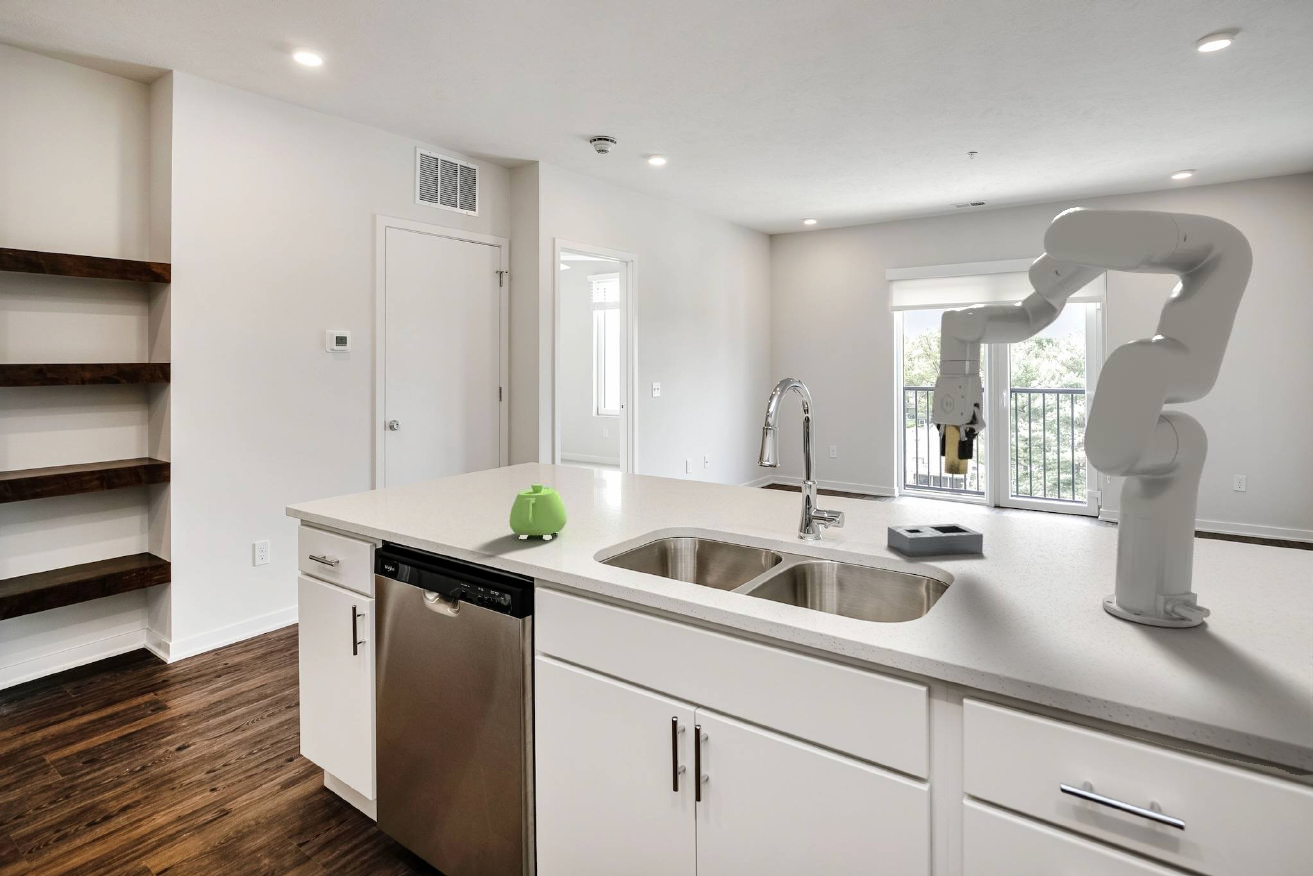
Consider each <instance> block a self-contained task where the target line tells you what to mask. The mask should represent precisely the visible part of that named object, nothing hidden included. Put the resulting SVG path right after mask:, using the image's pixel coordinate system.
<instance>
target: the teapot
mask: <svg viewBox="0 0 1313 876" xmlns="http://www.w3.org/2000/svg"><path fill="white" fill-rule="evenodd" d="M566 510H567V509H566V508H565V505H564V502H563V500H562V498H561V496H560V494H559V492H558V491H557V490H556V489H555V488H551V487H544V484H542V483H534V484H531V488H529V489H528V488H527V489H523V490H521V491H519V492H518V493H517V495H516V497H515V499H514V502H513V504H512V506H511V510H510V515H509V526H510V528H511V530H512V531H513V533H514V534H515V535H519V536H520V535H529V536H542V535H551V534H552V535H554V534H553V533H556V532H561V531H562V530H563V529H564V527H565V525H566V524H567V522H568V517H567V511H566Z"/></svg>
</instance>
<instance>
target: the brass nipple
mask: <svg viewBox="0 0 1313 876" xmlns="http://www.w3.org/2000/svg"><path fill="white" fill-rule="evenodd" d="M966 424H969V423H966ZM966 424H965V425H966ZM966 430H967V431H968V430H969V428H966ZM959 440H962V439H961V433H960V426H957V425H948V424H946V443H945V457H944V473H945V474H949V475H968V469H969V466H968V465H969V459H967V460H959V459H958V445H959Z"/></svg>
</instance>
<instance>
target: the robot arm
mask: <svg viewBox="0 0 1313 876" xmlns="http://www.w3.org/2000/svg"><path fill="white" fill-rule="evenodd" d="M1043 247H1044V250H1045V252H1044V253H1043V254H1042V255H1041V256H1040V257H1038V258H1037V259H1036V260H1034V261H1033V262H1032V263H1031V264H1030V266H1029V269H1028V279H1029V282H1030V284H1031V286H1032V288H1033V289H1034V291H1033V292H1032V293H1031V294H1029V295H1028V296H1027V297H1025V298H1024V299H1022V300H1021V301H1020V302H1017V303H1015V304H1009V303H1007V304H1004V303H1003V304H1001V303H998V304H996V303H993V304H991V303H990V304H988V303H985V304H983V303H982V304H974V305H971V306H968V307H960V308H959V307H957V308H949V309H945V311H943V312H942V314H941V321H940V322H941V323H940V350H939V351H940V353H939V359H940V361H939V366H938V368H939V375H937V377H936V379H935V380H936V381H935V383H934V387H933V388H934V389H933V394H932V395H933V396H932V405H931V406H932V407H931V423H932V424H933V425H934V426H935V428H936V430H937V432H938V436H939V438H940V457H944V458H945V443H946V424H948V425H957V426H960V433H961V439H962V440H959V445H958V459H959V460H967V459H968V460H972V459H973V457H974V441H976V439H977V436H978V435H979V433H980V432H982V431H983V430H984V429H985V428H986V427H987V424H986V422H985V420H984V418H983V416H984V395H983V384H982V377H981V376H980V372H981V347H982V345H984V344H985V345H988V344H990V345H991V344H1017V343H1021V342H1024V341H1026V340H1028V339H1030V338H1032V337H1034V336H1036V335H1037V334H1040V332H1042V331H1043V330H1044V329H1046V328H1048V327H1050V326H1051V325H1052V324H1054V322H1055V321H1056V320H1057V319H1058V318H1059V317H1060V315H1061V314H1062V312H1063V310H1064V309H1065V306H1066V305H1067V300H1068V298H1070V297H1071V296H1072V295H1074V294H1075V293H1076V292H1078V291H1080V290H1081V289H1082V288H1083V287H1086V286H1087V285H1089V284H1090V283H1091V282H1093V281H1094V280H1095V279H1097V278H1099V277H1100V276H1101V275H1103V274H1105V273H1106V272H1107V271H1115V272H1123V273H1134V274H1155V275H1156V274H1159V275H1176V276H1178V277H1179V278H1180V280H1179V282H1178V283H1177V284H1176V286H1175V287H1174V288H1173V290H1172V291H1171V292H1170V294H1169V296H1168V297H1167V298H1166V300H1165V301H1164V304H1163V307H1162V308H1161V310H1160V311H1161V312H1160V316H1159V320H1158V323H1157V327H1156V329H1155V332H1154V335H1153V338H1152V337H1151V338H1137V339H1134V340H1130V341H1128V342H1125V343H1123V344H1121V345H1120V346H1118V347H1117V348H1116V349H1114V350H1113V352H1112V353H1111V354H1110V355H1109V356H1108V357H1107V359H1106V360H1105V362H1104V364H1103V366H1102V368H1101V370H1100V373H1099V376H1098V380H1097V383H1096V387H1095V392H1094V395H1093V399H1092V403H1091V407H1090V410H1089V414H1088V419H1087V423H1086V426H1085V431H1084V437H1083V438H1084V439H1083V447H1084V453H1085V456H1086V459H1087V460H1088V462H1089V464H1090V465H1091V466H1092V467H1093V468H1094V469H1095V470H1097V472H1099V473H1101V474H1103V475H1107V476H1110V477H1116V478H1117V477H1118V478H1119V477H1123V478H1124V477H1125V478H1124V481H1123V484H1122V486H1121V491H1120V494H1119V501H1118V502H1119V503H1118V504H1119V505H1118V521H1117V538H1116V539H1117V541H1116V560H1115V562H1116V563H1115V584H1114V593H1112V594H1109V595H1106V596H1104V597H1103V598H1102V608H1103V609H1104V610H1106V611H1107V612H1108V613H1110V614H1111V615H1113V616H1116V617H1119V618H1121V619H1124V620H1127V621H1131V622H1133V623H1134V622H1135V623H1139V624H1144V625H1149V626H1156V627H1163V628H1191V627H1197V626H1199V625H1201V624H1202V623H1203V621H1204V618H1205V619H1207V618H1209V617H1210V616H1211V610H1210V609H1209V608H1207V607H1204V606H1202V605H1198V604H1197V602H1198V601H1197V598H1198V593H1195V592H1192V583H1193V582H1192V581H1193V566H1194V550H1195V549H1194V548H1195V547H1194V545H1195V529H1196V518H1197V504H1198V494H1199V487H1200V483H1201V482H1200V481H1201V477H1202V473H1203V469H1204V466H1205V463H1206V459H1207V454H1208V450H1209V449H1208V447H1209V446H1208V445H1209V444H1208V443H1209V441H1208V435H1207V433H1206V430H1205V428H1204V427H1203V425H1202V424H1201V423H1200V422H1199V421H1198V420H1197V419H1196V418H1195V417H1194V416H1192V415H1190V414H1187V413H1185V412H1183V411H1178V410H1174V409H1163V406H1164V405H1173V404H1184V403H1185V404H1187V403H1191V402H1196V401H1200V400H1201V399H1203V398H1205V397H1206V396H1207V395H1209V393H1210V392H1211V391H1212V390H1213V389H1214V386H1215V385H1216V382H1217V379H1218V377H1219V374H1220V370H1221V367H1222V363H1223V361H1224V357H1225V355H1226V351H1227V347H1228V344H1229V341H1230V337H1231V335H1232V332H1233V331H1232V330H1233V327H1234V323H1235V320H1236V315H1237V313H1238V310H1239V307H1240V305H1241V302H1242V300H1243V299H1242V298H1243V296H1244V294H1245V291H1246V288H1247V286H1248V283H1249V280H1250V277H1251V273H1252V269H1253V261H1254V260H1253V259H1254V258H1253V257H1254V256H1253V250H1252V247H1251V244H1250V242H1249V240H1248V238H1247V237H1246V236H1245V234H1244V233H1243V232H1242V231H1241V230H1239V229H1238V228H1237V227H1236V226H1234V225H1232V224H1231V223H1229V222H1227V221H1225V220H1222V219H1219V218H1216V217H1213V216H1209V215H1204V214H1196V213H1186V212H1185V213H1184V212H1169V211H1168V212H1167V211H1158V210H1157V211H1155V210H1142V209H1141V210H1135V209H1134V210H1133V209H1110V208H1101V207H1100V208H1097V207H1087V206H1086V207H1085V206H1079V207H1078V206H1076V207H1073V208H1069V209H1067V210H1065V211H1062V212H1061V213H1060V214H1058V215H1057V216H1055V218H1053V220H1051V223H1050V224H1049V225H1048V227H1047V229H1046V231H1044V236H1043ZM966 423H969V424H966ZM965 424H966V425H965ZM966 428H969V430H968V431H967V430H966Z"/></svg>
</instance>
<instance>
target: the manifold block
mask: <svg viewBox="0 0 1313 876" xmlns="http://www.w3.org/2000/svg"><path fill="white" fill-rule="evenodd" d="M983 541H984V534H983V533H981V532H978V531H976V530H974V529H971V528H969V527H966V526H963V525H961V524H959V523H943V524H941V523H940V524H919V525H918V524H917V525H895V526H887V546H889V547H891V548H893V549H895V550H896V551H898V552H900V553H902V554H904V555H905V556H906V557H908V558H911V557H928V556H930V557H931V556H949V555H952V556H953V555H969V554H970V555H971V554H972V555H973V554H983V550H984V549H983V547H984V544H983V543H984V542H983Z"/></svg>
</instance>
